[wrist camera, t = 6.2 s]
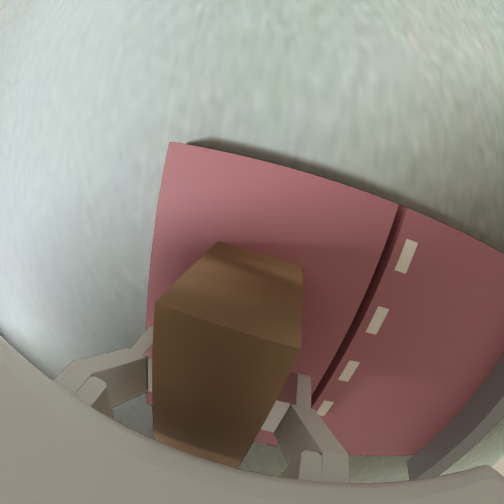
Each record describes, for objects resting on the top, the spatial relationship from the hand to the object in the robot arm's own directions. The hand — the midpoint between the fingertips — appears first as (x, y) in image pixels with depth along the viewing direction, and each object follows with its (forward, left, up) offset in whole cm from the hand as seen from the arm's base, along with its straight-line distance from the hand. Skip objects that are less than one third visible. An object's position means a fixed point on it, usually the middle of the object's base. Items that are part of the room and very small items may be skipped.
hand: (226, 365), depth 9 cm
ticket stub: (0, 0, -2) cm, 2 cm away
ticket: (+11, 0, -2) cm, 12 cm away
